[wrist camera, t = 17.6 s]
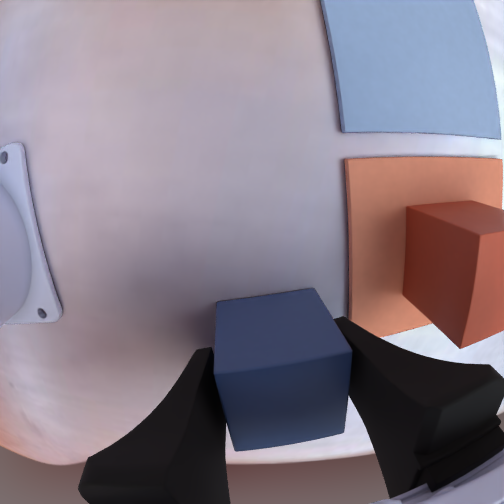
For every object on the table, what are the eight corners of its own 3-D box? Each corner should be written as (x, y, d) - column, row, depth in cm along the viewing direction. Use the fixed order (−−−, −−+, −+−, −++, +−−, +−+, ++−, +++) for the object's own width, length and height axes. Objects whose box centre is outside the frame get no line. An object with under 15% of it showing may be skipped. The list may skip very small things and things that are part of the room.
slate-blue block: (231, 376, 14) (234, 452, 9) (216, 301, 12) (212, 372, 8) (316, 363, 14) (344, 433, 10) (314, 287, 13) (353, 350, 8)
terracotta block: (401, 295, 13) (459, 349, 8) (405, 205, 11) (480, 234, 7) (465, 279, 13) (524, 320, 8) (472, 200, 12) (543, 223, 7)
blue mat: (341, 133, 11) (345, 132, 10) (310, -39, 8) (312, -43, 8) (496, 139, 11) (501, 139, 11) (468, -1, 9) (472, -3, 8)
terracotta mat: (347, 340, 14) (349, 345, 13) (343, 158, 11) (347, 159, 11) (484, 301, 14) (488, 304, 13) (497, 158, 11) (502, 159, 11)
